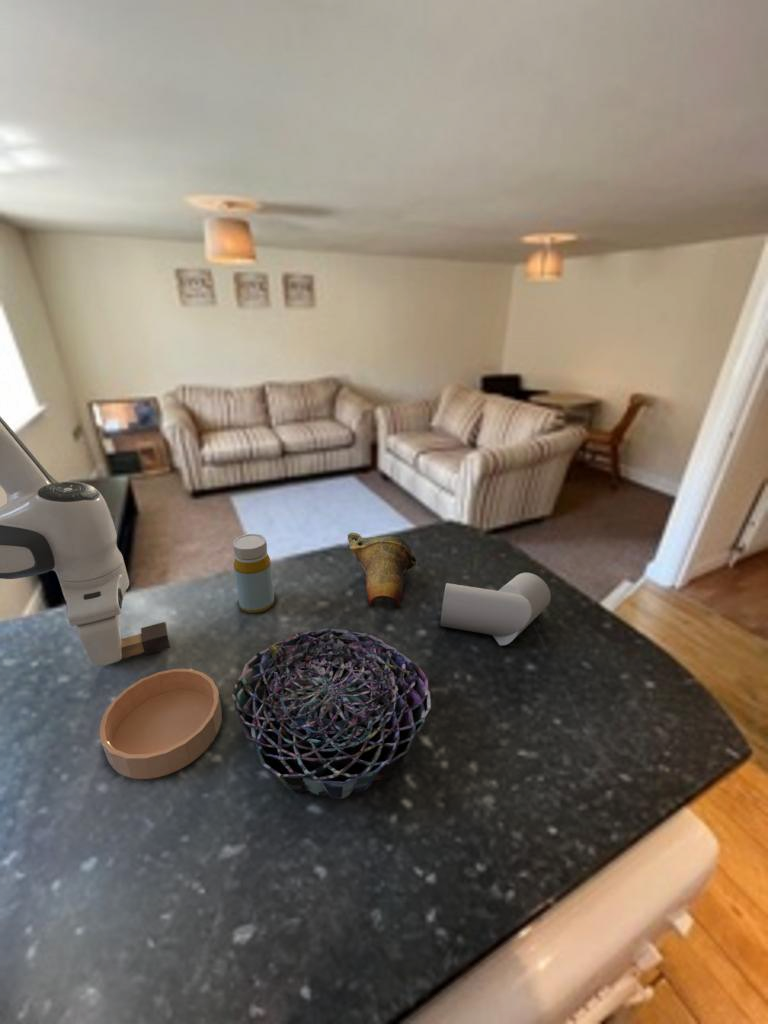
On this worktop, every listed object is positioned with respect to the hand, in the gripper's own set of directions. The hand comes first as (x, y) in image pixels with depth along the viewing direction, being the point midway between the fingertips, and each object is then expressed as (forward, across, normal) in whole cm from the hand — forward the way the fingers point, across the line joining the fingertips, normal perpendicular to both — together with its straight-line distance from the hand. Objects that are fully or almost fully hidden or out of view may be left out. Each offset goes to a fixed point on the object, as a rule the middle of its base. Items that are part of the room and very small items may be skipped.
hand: (116, 648), depth 77 cm
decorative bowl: (+3, +30, +28) cm, 41 cm away
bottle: (+3, -5, +25) cm, 26 cm away
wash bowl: (+3, +19, +6) cm, 20 cm away
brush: (+2, 0, +2) cm, 3 cm away
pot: (+3, -1, +52) cm, 52 cm away
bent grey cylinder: (+3, +20, +65) cm, 68 cm away
